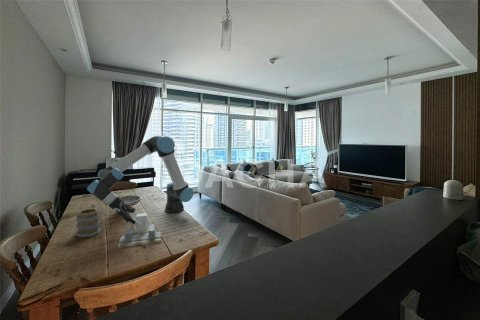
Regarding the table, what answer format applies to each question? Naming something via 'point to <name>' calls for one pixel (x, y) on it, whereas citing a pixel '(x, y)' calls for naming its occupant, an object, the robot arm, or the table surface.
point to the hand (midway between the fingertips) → (140, 221)
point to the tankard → (88, 222)
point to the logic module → (142, 223)
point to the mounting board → (140, 240)
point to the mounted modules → (130, 233)
